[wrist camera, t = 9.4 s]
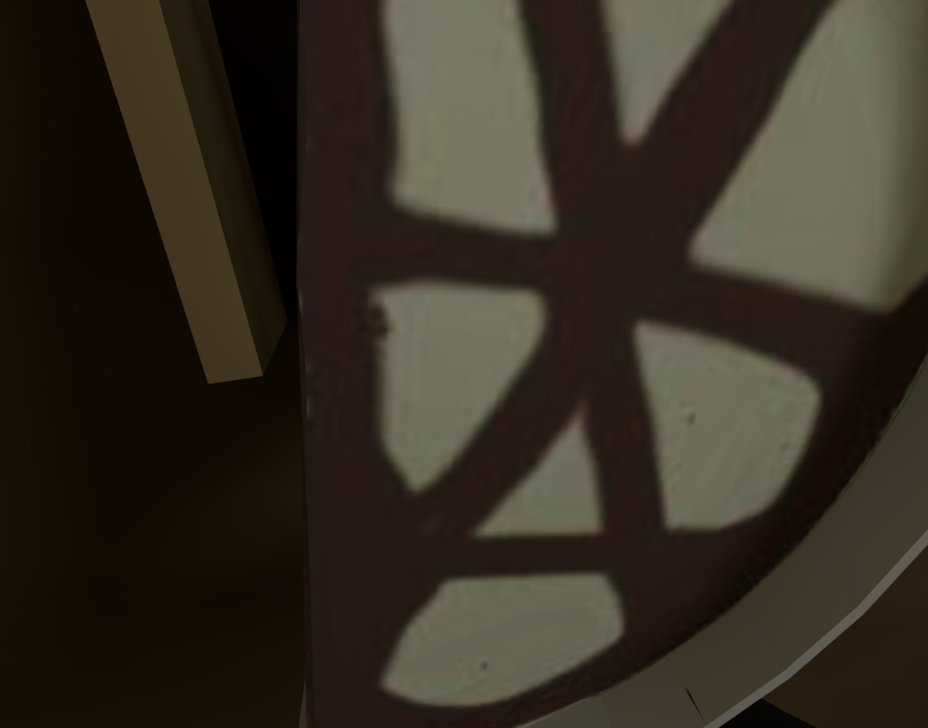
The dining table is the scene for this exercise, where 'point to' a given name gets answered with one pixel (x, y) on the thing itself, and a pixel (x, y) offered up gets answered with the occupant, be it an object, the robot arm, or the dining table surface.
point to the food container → (604, 350)
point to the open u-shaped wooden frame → (195, 176)
